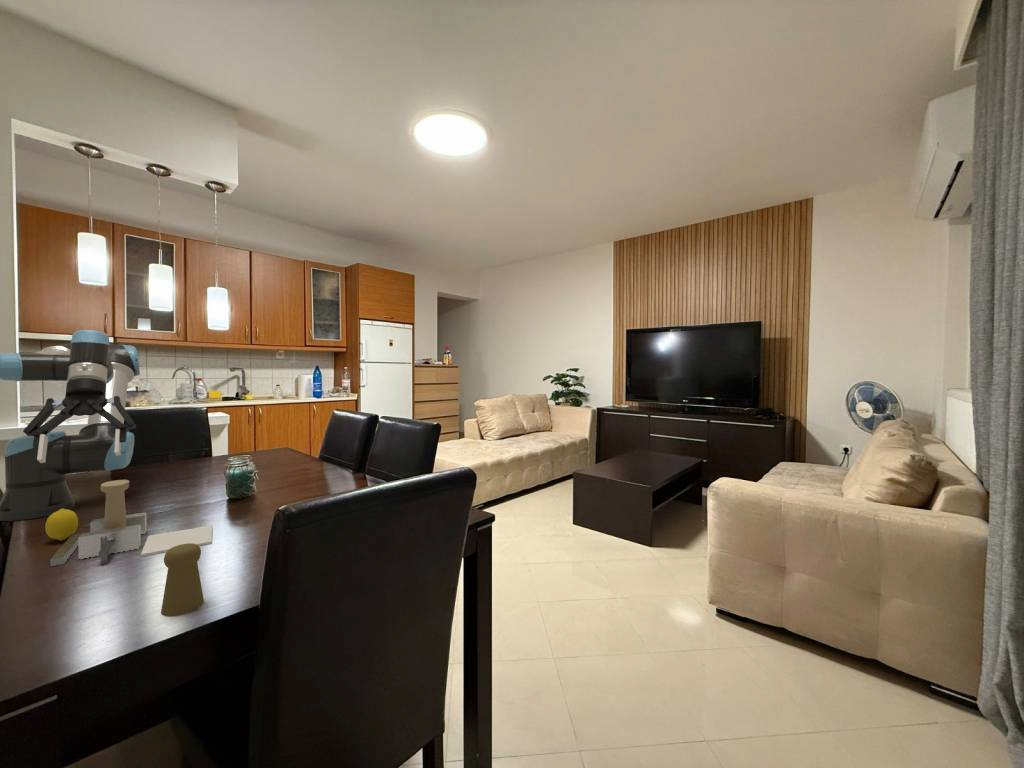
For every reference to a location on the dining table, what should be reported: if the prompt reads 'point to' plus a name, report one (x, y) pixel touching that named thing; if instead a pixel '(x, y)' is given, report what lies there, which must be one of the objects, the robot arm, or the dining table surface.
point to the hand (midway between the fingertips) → (80, 457)
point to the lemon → (61, 524)
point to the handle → (115, 503)
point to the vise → (103, 540)
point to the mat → (177, 540)
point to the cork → (182, 580)
